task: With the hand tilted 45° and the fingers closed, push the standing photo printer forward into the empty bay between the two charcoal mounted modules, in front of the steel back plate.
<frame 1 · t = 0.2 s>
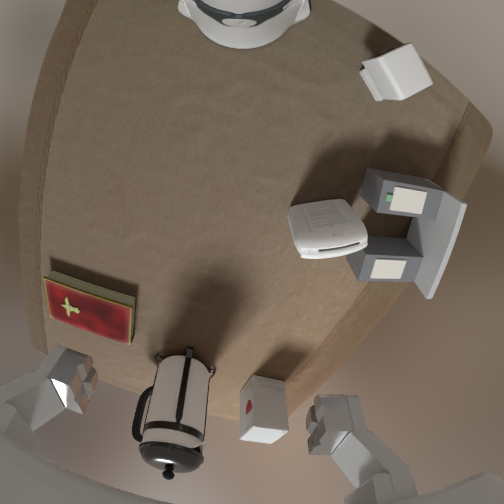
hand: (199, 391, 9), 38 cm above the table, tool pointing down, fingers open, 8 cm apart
module bay: (386, 218, 48), on the table
photo printer: (317, 211, 47), on the table
supplement box: (261, 385, 71), on the table
security camera: (377, 75, 36), on the table
hardcover book: (93, 301, 57), on the table
coffee press: (181, 365, 67), on the table
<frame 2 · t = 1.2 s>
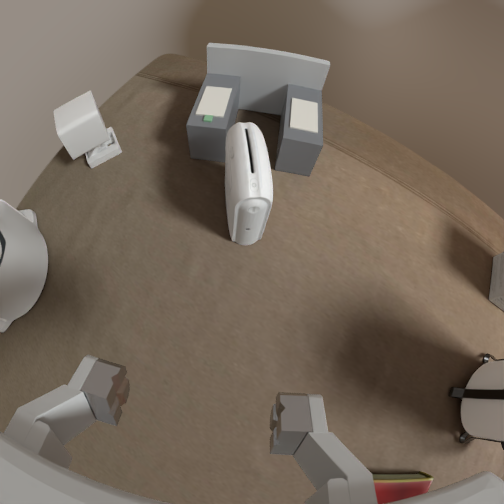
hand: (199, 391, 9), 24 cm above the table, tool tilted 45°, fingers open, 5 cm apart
module bay: (255, 135, 42), on the table
photo printer: (242, 210, 38), on the table
supplement box: (502, 288, 38), on the table
security camera: (98, 152, 40), on the table
coffee press: (477, 403, 31), on the table
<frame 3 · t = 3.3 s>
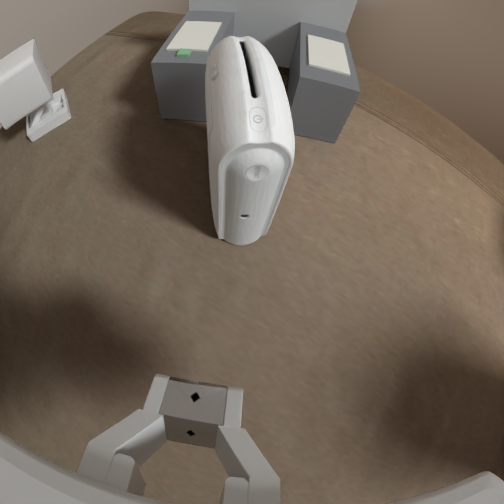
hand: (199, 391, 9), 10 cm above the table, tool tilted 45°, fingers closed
module bay: (255, 89, 28), on the table
photo printer: (236, 189, 24), on the table
security camera: (44, 121, 25), on the table
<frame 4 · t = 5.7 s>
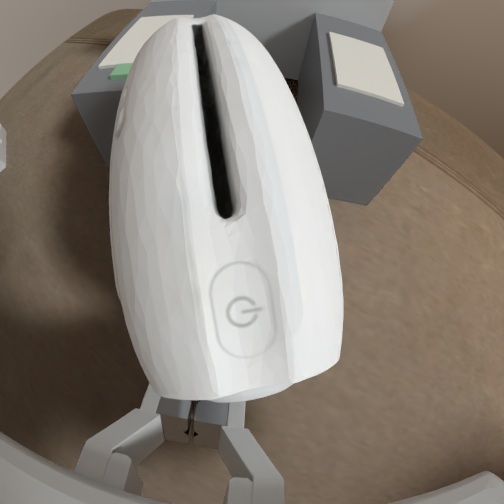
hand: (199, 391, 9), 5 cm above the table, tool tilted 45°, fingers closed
module bay: (248, 115, 20), on the table
photo printer: (219, 274, 16), on the table, touching gripper
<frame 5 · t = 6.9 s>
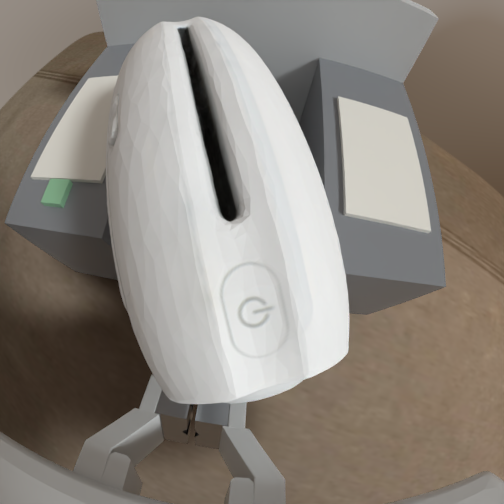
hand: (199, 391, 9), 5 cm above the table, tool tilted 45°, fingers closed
module bay: (232, 196, 17), on the table
photo printer: (216, 276, 16), on the table, touching gripper
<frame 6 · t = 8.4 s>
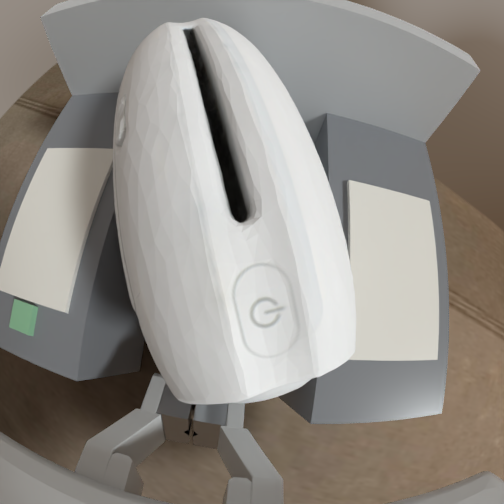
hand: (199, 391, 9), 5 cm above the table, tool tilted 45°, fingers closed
module bay: (222, 272, 16), on the table
photo printer: (219, 276, 16), on the table, touching gripper
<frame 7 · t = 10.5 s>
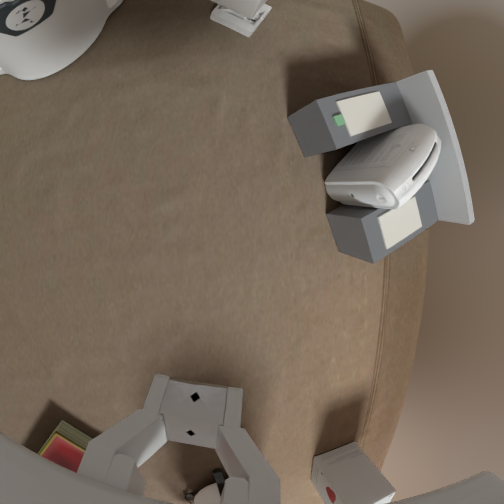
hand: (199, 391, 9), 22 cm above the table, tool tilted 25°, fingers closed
module bay: (354, 168, 34), on the table
photo printer: (352, 168, 34), on the table
supplement box: (331, 460, 44), on the table
security camera: (234, 12, 26), on the table
hardcover book: (71, 462, 31), on the table
coffee press: (223, 491, 39), on the table
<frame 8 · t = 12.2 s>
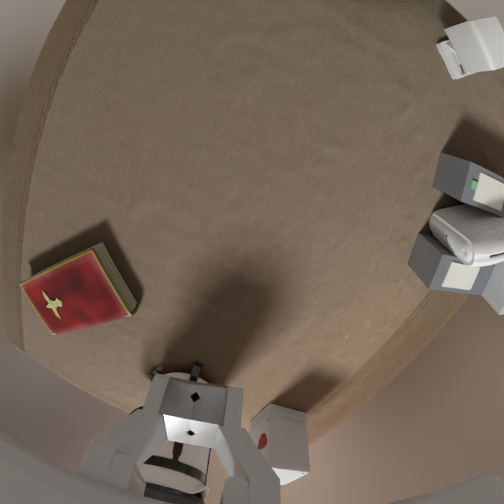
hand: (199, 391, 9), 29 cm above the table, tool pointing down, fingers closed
module bay: (455, 218, 36), on the table
photo printer: (453, 217, 36), on the table
supplement box: (277, 416, 56), on the table
security camera: (453, 53, 25), on the table
hardcover book: (79, 287, 44), on the table
coffee press: (183, 385, 52), on the table
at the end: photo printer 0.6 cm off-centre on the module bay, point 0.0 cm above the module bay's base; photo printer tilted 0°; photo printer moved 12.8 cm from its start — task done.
